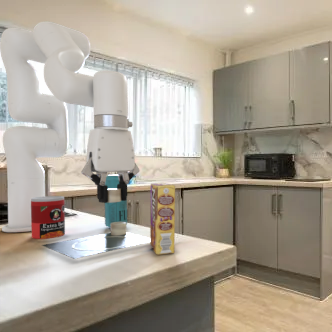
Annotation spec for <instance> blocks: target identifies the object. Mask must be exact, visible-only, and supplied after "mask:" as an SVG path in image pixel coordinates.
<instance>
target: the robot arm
mask: <svg viewBox="0 0 332 332" xmlns="http://www.w3.org/2000/svg"><path fill="white" fill-rule="evenodd" d="M90 41H91V40H90V39H89V37H88V35H86V34H85V33H83V32H82V31H80V30H78V29H74V28H72V27H69V26H66V25H64V24H60V23H57V22H54V21H47V20H46V21H40V22H38V23H37V24H36V25H35V26H34V27H33V29H32V30H30V29H27V28H21V27H8V28H5V29H4V30H3V31H2V33H1V36H0V57H1V61H2V63H3V66H4V69H5V73H6V84H7V85H6V86H7V110H8V114H9V116H10V118H11V119H13V120H14V121H17V122H20V123H21V122H22V123H29V124H30V123H31V124H42V125H46V127H39V126H27V125H15V126H12V127H9V128H7V129H6V130H5V131H4V132H3V135H2V146H3V149H4V154H5V161H6V171H7V172H6V175H7V177H6V178H7V219H8V220H7V221H8V222H7V224H6V225H3V226H2V227H1V232H4V233H25V232H26V233H27V232H32V228H31V199H32V198H36V197H46V178H45V177H46V174H45V170H44V167H43V166H42V164H41V163H40V162H39V161H38V159H37V158H61V157H63V156H65V155H66V153H67V152H68V148H69V115H68V108H67V105H66V104H68V105H74V106H75V105H76V106H81V107H89V108H93V129H92V128H91V129H90V130H89V134H88V138H87V145H86V158H85V159H86V160H85V161H86V162H85V165H84V166H83V167H82V169H81V171H80V173H81V175H83V176H85V177H87V178H89V180H90V181H92V182H93V183H94V185H95V186H96V198H97V200H98V203H102V204H105V203H107V202H108V186H107V185H105V182H106V177H107V176H108V173H117V174H116V175H118V179H119V184H118V185H117V188H120V189H121V201H126V200H127V201H128V184H129V185H130V181H131V180H133V178H134V176H136V175H137V174H138V173H140V171H141V169H140V168H139V167H138V165H137V163H136V161H135V159H136V157H135V148H134V147H135V146H134V140H133V136H132V133H131V130H129V129H130V128H132V127H133V126H134V125H133V122H132V121H130V119H129V98H128V95H129V93H128V78H127V76H126V75H125V74H124V73H122V72H120V71H115V70H106V69H105V70H98V71H96V72H95V73H94V74H93V75H89V74H85V73H80V72H79V71H81V70H82V69H83V67H84V65H85V62H86V59H88V58H89V56H90V54H91V50H92V47H91V46H92V45H91V42H90ZM30 61H33V62H36V63H40V64H44V66H43V78H44V82H45V84H46V86H47V88H48V89H49V91H50V92H51V94H47V93H43V92H42V87H41V85H42V83H41V82H42V81H41V77H40V75H39V73H38V71H37V70H36V69H35V67H34V66H33V65H32V63H31V62H30Z"/></svg>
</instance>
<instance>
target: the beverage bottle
mask: <svg viewBox="0 0 332 332" xmlns="http://www.w3.org/2000/svg"><path fill="white" fill-rule="evenodd" d="M118 184H119V179H118V174H107V176H106V182H105V185H107V186H108V189H111V188H117V185H118ZM103 207H104V226H106V227H107V228H111V223H113V222H126V226H127V224H128V222H129V220H128V218H129V217H128V216H129V214H128V199H127V200H126V201H120V202H111V203H104V206H103Z"/></svg>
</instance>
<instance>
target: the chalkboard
mask: <svg viewBox="0 0 332 332" xmlns="http://www.w3.org/2000/svg"><path fill="white" fill-rule="evenodd" d="M147 243H150V237H147V236H143V235H140V234H135V233H131V232H127V231H126V234H124V235H117V236H114V235H111V232H106V233H101V234H94V235H90V236H84V237H78V238H71V239H67V240H61V241H56V242H51V243H45V244H41V246H42V247H45V248H47V249H50V250H51V251H54V252H57V253H60V254H61V255H63V256H67V257H68V258H71V259H73V260H76V259H80V258H86V257H90V256H94V255H98V254H103V253H107V252H112V251H116V250H121V249H126V248H130V247H134V246H139V245H142V244H147Z"/></svg>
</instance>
